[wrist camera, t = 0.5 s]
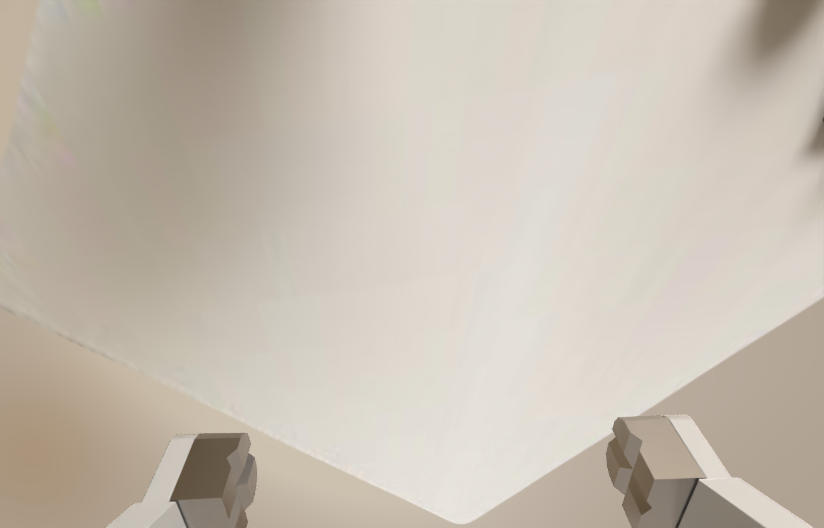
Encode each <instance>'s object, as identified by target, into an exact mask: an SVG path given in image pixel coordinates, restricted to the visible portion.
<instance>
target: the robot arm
mask: <svg viewBox="0 0 824 528" xmlns="http://www.w3.org/2000/svg"><path fill="white" fill-rule="evenodd" d="M612 430H613V432H614V434H615V436H616V437H615V438H614V439H613V440H612V441H610V442H609V444H608V448H607V452H606V457H607V468H608V471H609V475H610V478H611V480H612V483H613V485H614V487H615V488H617V489H618V490H619V491H620V492H621V493H623V494H624V495H625V497H624V501H623V504H622V506H623V508H624V511H625V513H626V515H627V517H628V520H629V522H630V524H631V527H632V528H813V527H812V526H810V525H809V524H807V523H806V522H804V521H803V520H801V519H800V518H798V517H797V516H795V515H794V514H792V513H791V512H789V511H788V510H786V509H785V508H783V507H782V506H780V505H779V504H777V503H776V502H774V501H773V500H771V499H770V498H769V497H767V496H766V495H764V494H762V493H761V492H759V491H758V490H757V489H755V488H753V487H752V486H751V485H749V484H748V483H746V482H744V481H743V480H741V479H740V478H738V477H737V478H736V477H734V478H732V477H731V476H730V475H729V473H728V472H727V470H726V469H725V467H724V466H723V464H722V463H721V461H720V460H719V458H718V457H717V455H716V454H715V452H714V451H713V449H712V448H711V447H710V445H709V443H708V442H707V441H706V439H705V438H704V436H703V435H702V433H701V432H700V430H699V429H698V427H697V426H696V424H695V423H694V421H693V420H692V418H690V417H689V416H688V415H663V416H661V415H656V416H636V417H618V418H617V419H616V420H615V422H614V425H613V429H612ZM250 445H251V443H250V439H249V436H248V433H204V434H176V435H175V436H174V437H173V438H172V439H171V440H170V442H169V444H168V446H167V448H166V451H165V453H164V455H163V457H162V459H161V461H160V463H159V466H158V468H157V470H156V472H155V474H154V476H153V478H152V481H151V483H150V485H149V487H148V489H147V491H146V493H145V495H144V498H143V500H142V502H141V503H134V504H132V505H131V506H130V507H129V508H128V509H127V510H125V511H124V512H123V513H122V514H121V515H120V516H118V517H117V518H116V519H115V520H114V521H112V522H111V523H110V524H109V525H108V526H106V528H246V526H247V523H248V521H247V517H246V513H245V510H246V508H247V507H248V506H249V505H250V504H251V503H252V502H253V499H254V495H255V490H256V482H257V467H256V461H255V458H254V457H253V456H252V455H251V454H249V453H248V452H249V448H250Z"/></svg>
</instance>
